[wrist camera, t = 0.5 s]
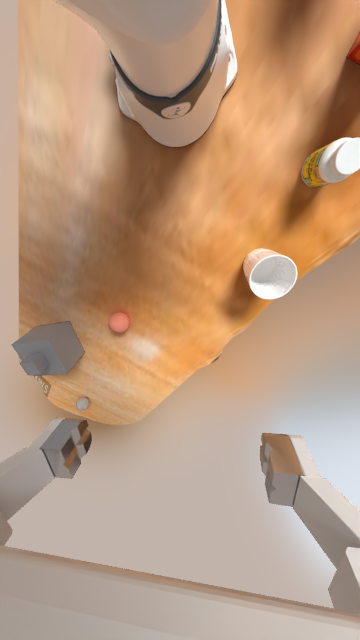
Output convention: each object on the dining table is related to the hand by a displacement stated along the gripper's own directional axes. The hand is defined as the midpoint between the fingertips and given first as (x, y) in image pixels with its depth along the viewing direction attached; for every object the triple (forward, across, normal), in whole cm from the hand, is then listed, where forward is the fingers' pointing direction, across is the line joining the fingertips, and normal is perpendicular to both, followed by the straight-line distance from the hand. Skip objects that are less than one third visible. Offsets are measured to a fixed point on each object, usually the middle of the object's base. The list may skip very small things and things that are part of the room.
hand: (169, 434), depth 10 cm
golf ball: (+43, +41, +41) cm, 72 cm away
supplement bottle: (+40, -20, -18) cm, 48 cm away
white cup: (+41, -12, -2) cm, 43 cm away
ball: (+38, +21, +11) cm, 45 cm away
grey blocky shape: (+41, +40, +17) cm, 60 cm away
